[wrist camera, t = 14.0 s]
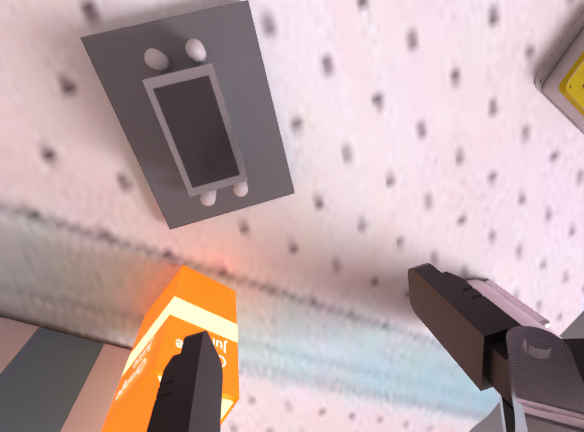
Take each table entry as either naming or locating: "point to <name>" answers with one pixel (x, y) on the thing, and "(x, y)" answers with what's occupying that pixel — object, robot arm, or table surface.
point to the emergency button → (566, 75)
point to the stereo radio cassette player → (55, 379)
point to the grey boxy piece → (197, 128)
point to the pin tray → (236, 90)
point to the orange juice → (176, 346)
